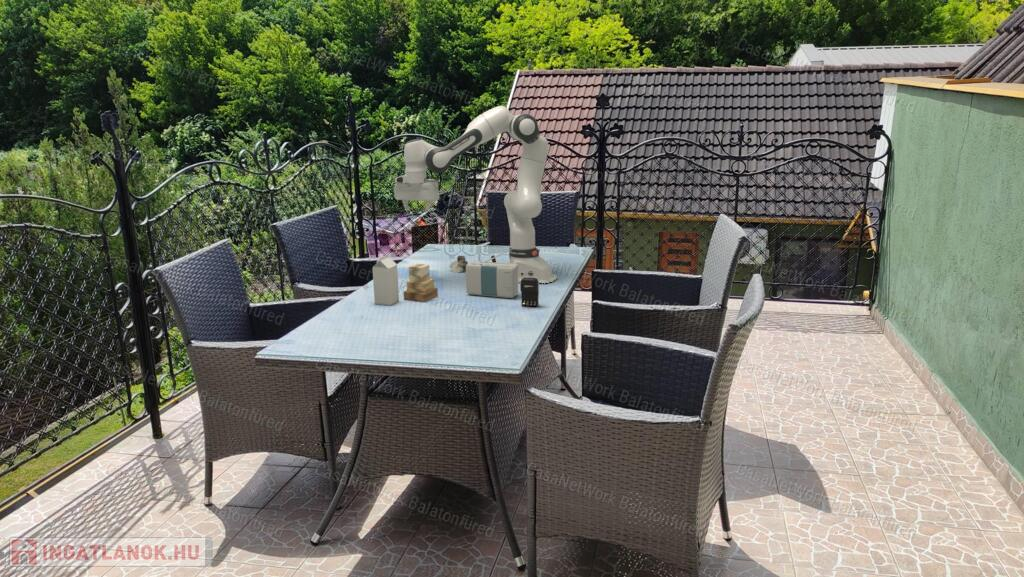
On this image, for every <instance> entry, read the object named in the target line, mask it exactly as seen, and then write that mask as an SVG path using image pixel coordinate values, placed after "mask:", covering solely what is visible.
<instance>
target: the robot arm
mask: <svg viewBox="0 0 1024 577" xmlns="http://www.w3.org/2000/svg"><path fill="white" fill-rule="evenodd" d="M502 133H506V135H508V136H509V137H510V138H511V139H513V140H514V141H518V142H521V143H522V152H521V156H520V160H519V164H518V168H517V173H516V180H517V189H514V190H511V191H508V193H506V195H505V196H504V200H503V204H504V207H505V209H506V214H507V215H506V216H507V221H508V228H509V242H510V243H509V250H510V251H509V250H508V251H509V253H508V254H509V255H508V256H509V264H518V284H521V280H522V278H523V277H536V278H538V280H539V283H542V284H541V285H544V284H545V283H548V284H550V283H549V282H552V283H554V282H555V281H557V280H558V275H556V274H553V271H552V270H553V269H552V266H551V264H550V263H549V262H548V261H546V260H545V259H544V258H543V257H541V255H540V252H541V251H540V250H541V248H537V247H536V230H535V226H534V224H533V219H534V218H537V217H538V216H539V215H540V214H541V212H542V209H543V204H542V199H541V194H542V193H541V192H542V190H541V188H542V180H543V179H542V178H543V175H544V170H545V167H546V163H547V158H548V150H549V141H548V139H547V138H546V137H544V136H543V135H541V133H540V129H539V125H538V121H537V120H536V118H535V117H534V116H533V115H531V114H528V113H521V114H520V113H519V114H515V115H513V114H512V113H511V112H510V110H509V109H508V108H507V107H505V106H504V105H497V106H495V107H492V108H491V109H488V110H486V111H484V112H482V113H481V114H479V115H477V117H475V118H474V119H473V120H471V122H469V124H468V125H467V127H466V129H465V131H464V133H463V134H462V135H461V136H459V137H458V138H456V139H455V140H453V141H452V142H450V143H448V144H447V145H445V146H436V145H433V144H431V143H429V142H427V141H425V140H424V139H423V138H415V139H412V140H408V141H407V142H406V143H405V144H404V149H403V150H404V151H403V152H404V153H403V157H404V158H403V159H404V160H403V161H404V165H405V169H404V174H402V175H399V176H397V177H395V178H394V182H395V185H394V189H393V193H394V194H393V195H394V199H395V200H396V201H397V200H398V201H402V204H403V206H404V211H406V212H407V211H408V212H409V211H411V206H410V205H408V203H409V201H418V202H426V204H427V205H426V207H424V212H430V211H431V209H430V207H431V206H432V204H433V202H437V201H439V199H440V191H439V182H438V180H437V179H435V178H427V169H429V170H430V171H431V172H432V173H437V174H440V173H444V172H446V171H447V170H448V169H449V168H450V166H451V165H452V163H453V162H454V161H455V160H456V159H457V158H459V157H460V156H461V155H463V154H465V153H467V151H469V150H471V149H472V148H475V147H477V146H480V145H482V144H484V143H485V144H486V143H487V142H489V141H491V140H493V139H494V138H496V137H497V136H499V135H500V134H502ZM513 248H515V249H513ZM511 249H512V250H511ZM556 279H557V280H556ZM554 280H555V281H554ZM553 281H554V282H553ZM543 283H544V284H543ZM545 285H546V284H545Z"/></svg>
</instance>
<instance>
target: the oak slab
mask: <svg viewBox="0 0 1024 577" xmlns="http://www.w3.org/2000/svg"><path fill="white" fill-rule="evenodd" d="M434 288H435V278H431V277H430V279H429V280H427V281H424V282H422V283H421V282H412V281H409V280H407V281H406V290H407V291H409V292H418V293H426V292H428V291H430V290H432V289H434Z"/></svg>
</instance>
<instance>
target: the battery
mask: <svg viewBox="0 0 1024 577" xmlns="http://www.w3.org/2000/svg"><path fill="white" fill-rule="evenodd" d="M519 287H520V292H521V293H520V294H521V306H522V307H526V306H537V307H538V306H539V305H540V304H539V303H540V302H539V301H540V300H539V298H540V284H539V280H538V278H536V277H523V278H522V280H521V283H520V286H519Z"/></svg>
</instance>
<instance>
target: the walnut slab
mask: <svg viewBox="0 0 1024 577" xmlns="http://www.w3.org/2000/svg"><path fill="white" fill-rule="evenodd" d="M438 290H439V289H438V287H434V289H432V290H430V291H428V292H426V293H418V292H409V291H407V289H406V290H405V291H403V300H404V301H410V302H418V303H419V302H420V303H428V302H429V301H432V300H434V299H435V298H438V297H439V292H438ZM427 301H428V302H427Z"/></svg>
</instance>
